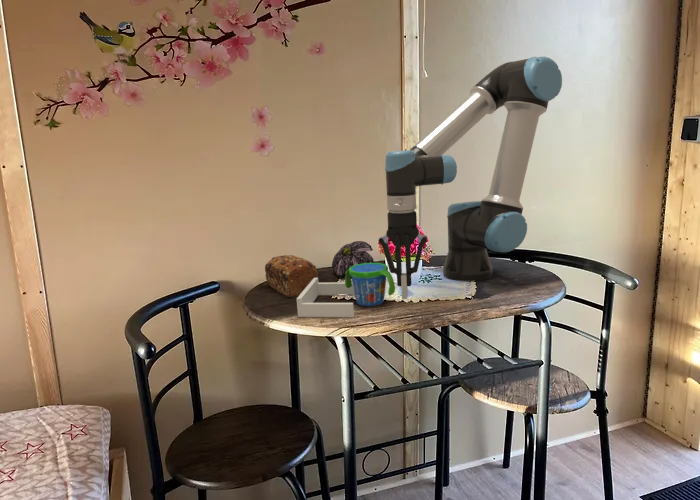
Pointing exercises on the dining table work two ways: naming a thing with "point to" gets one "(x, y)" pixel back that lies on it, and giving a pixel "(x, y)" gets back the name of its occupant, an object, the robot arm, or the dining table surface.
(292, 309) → the dining table surface
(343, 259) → the decorative flower
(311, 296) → the fence
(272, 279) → the bread
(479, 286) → the dining table surface
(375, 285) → the snack cup
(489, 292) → the dining table surface
